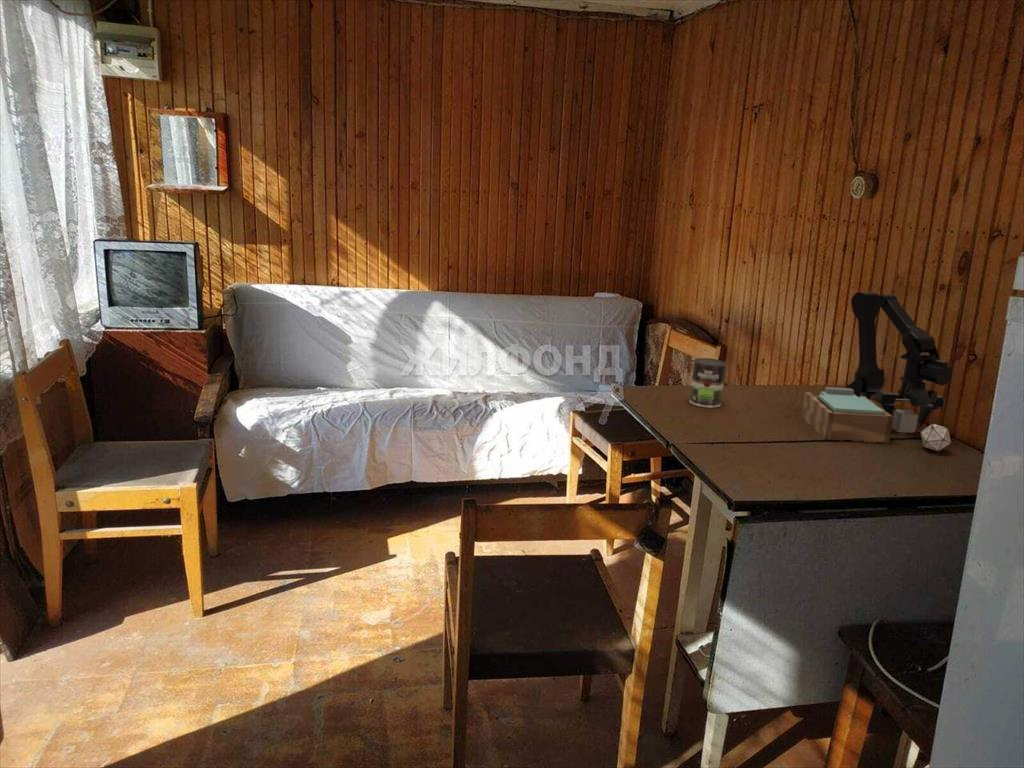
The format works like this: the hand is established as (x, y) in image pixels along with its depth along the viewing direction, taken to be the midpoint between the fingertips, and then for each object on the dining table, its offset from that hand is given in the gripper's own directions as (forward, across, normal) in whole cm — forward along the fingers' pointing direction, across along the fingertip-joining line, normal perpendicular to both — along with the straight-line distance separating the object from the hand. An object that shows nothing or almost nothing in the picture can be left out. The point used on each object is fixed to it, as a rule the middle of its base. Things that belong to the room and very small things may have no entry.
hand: (904, 425), depth 239 cm
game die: (+2, +1, -17) cm, 17 cm away
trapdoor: (-6, -19, -2) cm, 20 cm away
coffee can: (+2, -57, +17) cm, 60 cm away
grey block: (+2, 0, 0) cm, 2 cm away
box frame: (+2, -19, -2) cm, 19 cm away
